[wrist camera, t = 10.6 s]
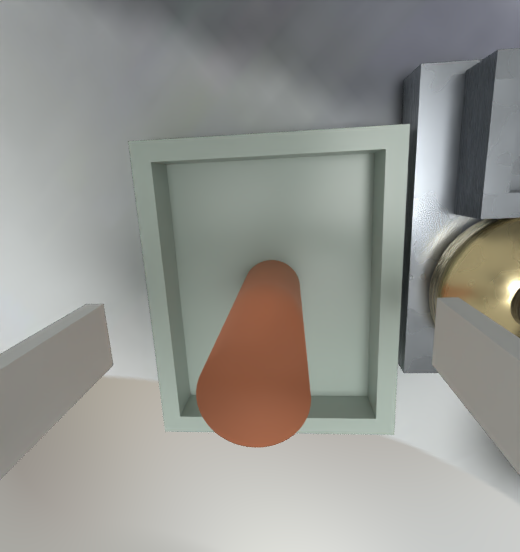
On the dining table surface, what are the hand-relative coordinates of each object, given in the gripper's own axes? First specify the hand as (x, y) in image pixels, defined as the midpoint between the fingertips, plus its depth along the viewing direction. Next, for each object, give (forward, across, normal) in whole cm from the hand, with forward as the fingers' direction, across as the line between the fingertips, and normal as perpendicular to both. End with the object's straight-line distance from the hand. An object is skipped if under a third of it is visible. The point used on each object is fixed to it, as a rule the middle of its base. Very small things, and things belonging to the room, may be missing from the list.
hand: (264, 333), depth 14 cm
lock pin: (+7, 0, 0) cm, 7 cm away
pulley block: (+7, +12, +3) cm, 14 cm away
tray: (+7, 0, 0) cm, 7 cm away
